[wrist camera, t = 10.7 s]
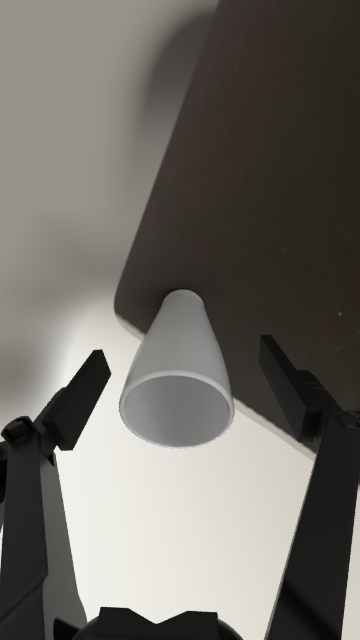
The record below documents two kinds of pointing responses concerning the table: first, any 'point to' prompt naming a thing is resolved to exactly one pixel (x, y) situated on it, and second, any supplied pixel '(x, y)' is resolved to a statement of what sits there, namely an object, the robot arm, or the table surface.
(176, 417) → the drinking glass
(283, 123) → the table surface
